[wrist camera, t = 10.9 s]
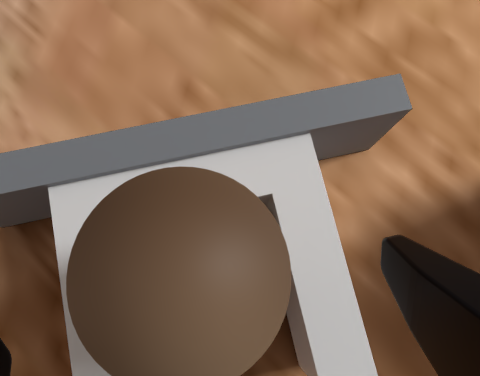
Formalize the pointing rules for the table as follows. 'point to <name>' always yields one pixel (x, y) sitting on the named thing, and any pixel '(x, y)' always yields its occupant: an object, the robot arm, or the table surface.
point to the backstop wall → (203, 140)
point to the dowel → (178, 276)
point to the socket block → (295, 234)
